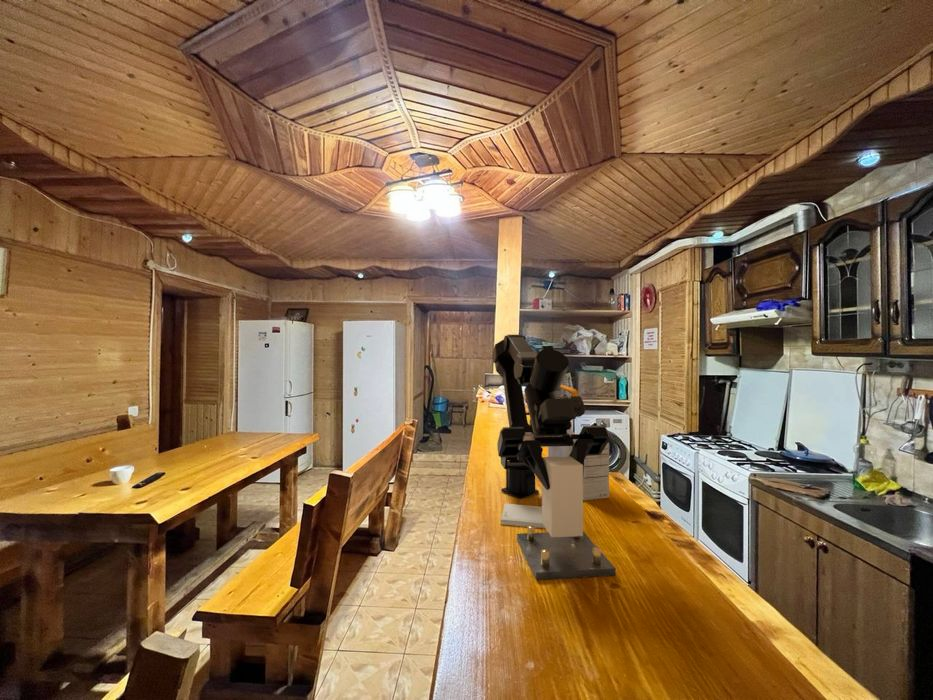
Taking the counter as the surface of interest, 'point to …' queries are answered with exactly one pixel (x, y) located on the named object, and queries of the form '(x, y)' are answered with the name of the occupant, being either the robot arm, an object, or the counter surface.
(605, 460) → the supplement box
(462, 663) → the counter surface
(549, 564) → the chassis plate
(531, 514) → the hard drive
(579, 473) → the cream block
